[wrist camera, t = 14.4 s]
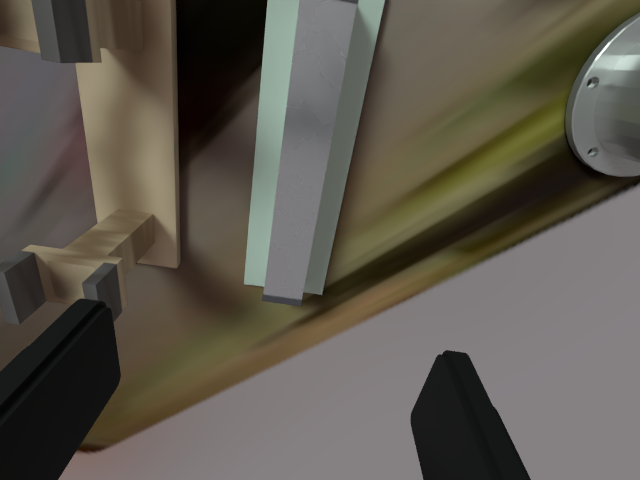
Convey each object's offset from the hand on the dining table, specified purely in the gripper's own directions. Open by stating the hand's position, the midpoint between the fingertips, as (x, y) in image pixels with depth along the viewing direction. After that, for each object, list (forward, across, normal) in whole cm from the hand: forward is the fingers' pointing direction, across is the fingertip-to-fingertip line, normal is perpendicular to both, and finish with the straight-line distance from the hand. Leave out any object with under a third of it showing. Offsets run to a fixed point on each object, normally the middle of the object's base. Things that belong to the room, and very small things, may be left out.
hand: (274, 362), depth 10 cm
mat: (+22, +1, 0) cm, 22 cm away
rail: (+22, 0, 0) cm, 22 cm away
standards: (+22, +15, 0) cm, 26 cm away
